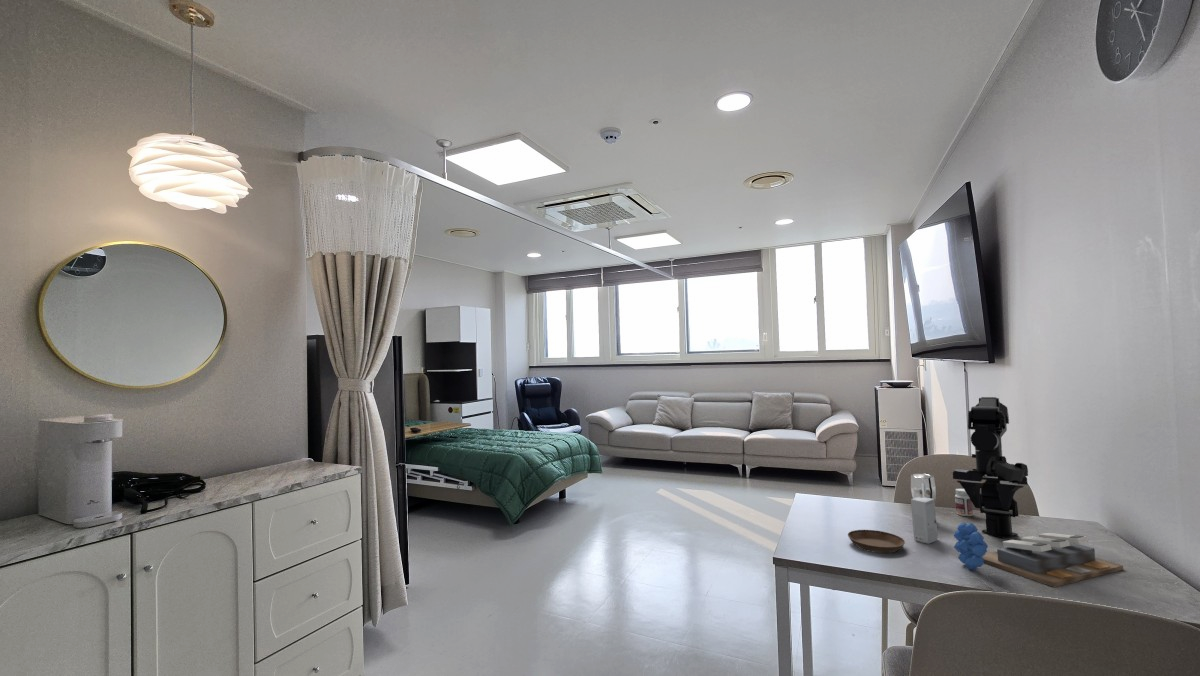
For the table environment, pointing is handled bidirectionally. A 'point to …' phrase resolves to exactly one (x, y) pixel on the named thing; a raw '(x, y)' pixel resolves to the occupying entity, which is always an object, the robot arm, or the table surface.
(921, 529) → the skincare box
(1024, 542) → the rocker
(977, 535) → the grapes
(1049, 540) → the rocker middle
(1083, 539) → the rocker
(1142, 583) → the table surface
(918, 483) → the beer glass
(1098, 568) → the switch panel
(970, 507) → the pill bottle
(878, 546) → the saucer
